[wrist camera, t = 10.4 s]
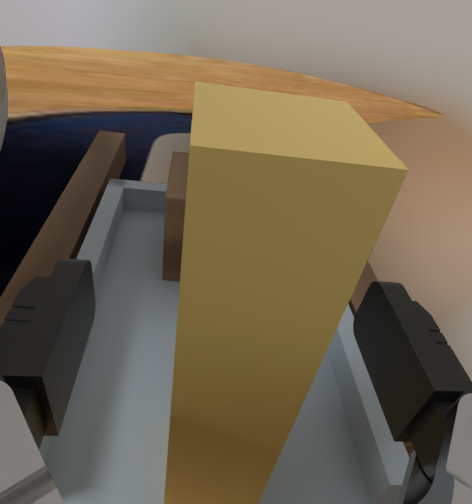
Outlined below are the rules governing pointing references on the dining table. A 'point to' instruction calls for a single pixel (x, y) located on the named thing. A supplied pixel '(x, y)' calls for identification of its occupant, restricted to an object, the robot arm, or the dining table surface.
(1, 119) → the ceramic pitcher
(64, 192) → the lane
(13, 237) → the dining table surface
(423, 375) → the robot arm
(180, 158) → the block
